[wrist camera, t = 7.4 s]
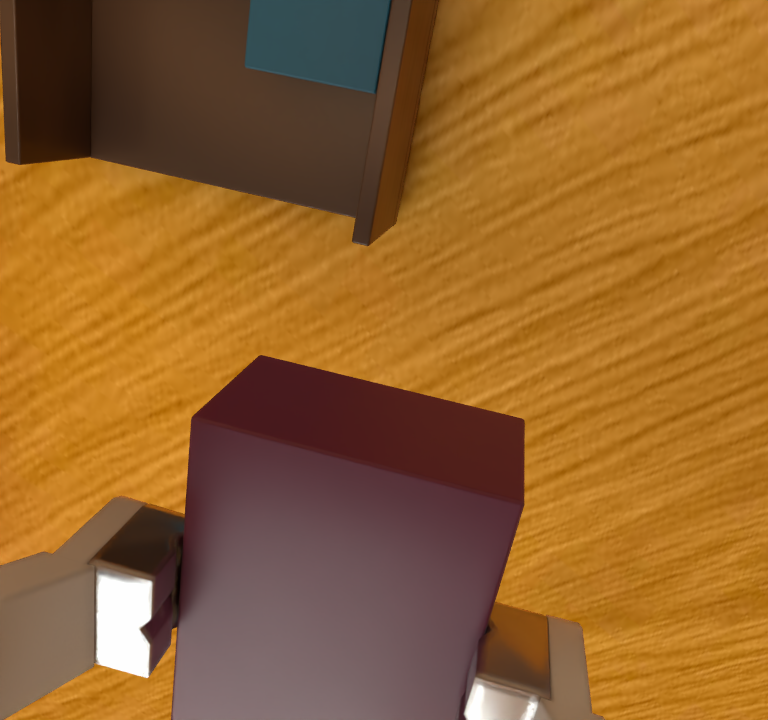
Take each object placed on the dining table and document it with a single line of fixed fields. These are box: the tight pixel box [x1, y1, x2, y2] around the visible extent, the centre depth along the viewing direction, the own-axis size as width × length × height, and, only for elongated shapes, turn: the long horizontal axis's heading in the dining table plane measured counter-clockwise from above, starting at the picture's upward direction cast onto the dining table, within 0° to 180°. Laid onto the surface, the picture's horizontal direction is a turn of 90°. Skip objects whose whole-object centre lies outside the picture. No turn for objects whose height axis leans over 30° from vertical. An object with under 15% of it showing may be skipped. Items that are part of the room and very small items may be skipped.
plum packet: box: [171, 355, 525, 720], centre depth 11 cm, size 6×4×2 cm
